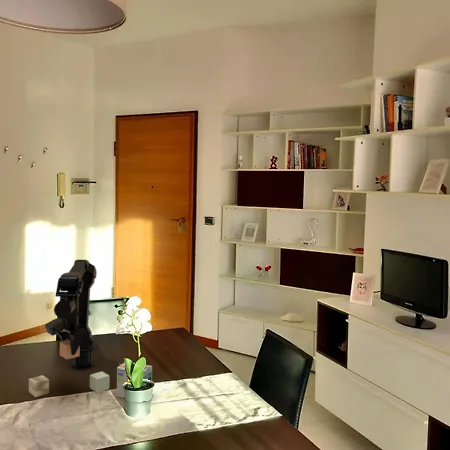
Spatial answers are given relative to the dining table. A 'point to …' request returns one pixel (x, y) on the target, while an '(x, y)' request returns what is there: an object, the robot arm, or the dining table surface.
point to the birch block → (38, 386)
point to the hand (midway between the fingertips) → (69, 352)
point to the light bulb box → (123, 377)
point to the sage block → (99, 381)
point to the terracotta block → (67, 350)
